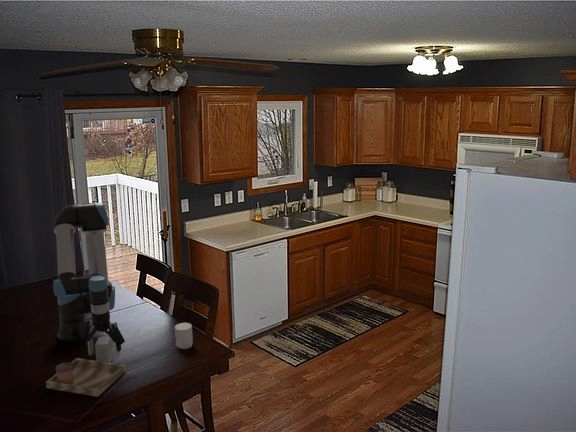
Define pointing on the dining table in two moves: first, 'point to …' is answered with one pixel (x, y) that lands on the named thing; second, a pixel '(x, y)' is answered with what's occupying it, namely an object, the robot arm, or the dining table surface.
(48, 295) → the dining table surface
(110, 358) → the small box
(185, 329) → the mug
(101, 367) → the tray
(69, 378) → the jar
